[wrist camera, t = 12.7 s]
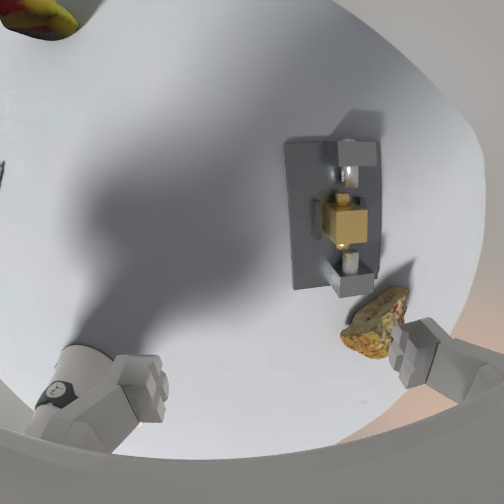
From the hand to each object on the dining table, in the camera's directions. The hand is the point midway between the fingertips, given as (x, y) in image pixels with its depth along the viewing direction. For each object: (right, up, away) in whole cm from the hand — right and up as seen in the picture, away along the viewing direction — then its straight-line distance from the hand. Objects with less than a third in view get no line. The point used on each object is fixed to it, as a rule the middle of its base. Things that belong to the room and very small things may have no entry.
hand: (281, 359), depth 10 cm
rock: (+19, -7, +37) cm, 42 cm away
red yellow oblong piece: (-30, +38, +18) cm, 52 cm away
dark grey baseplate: (+10, +9, +31) cm, 33 cm away
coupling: (+10, +8, +30) cm, 33 cm away
